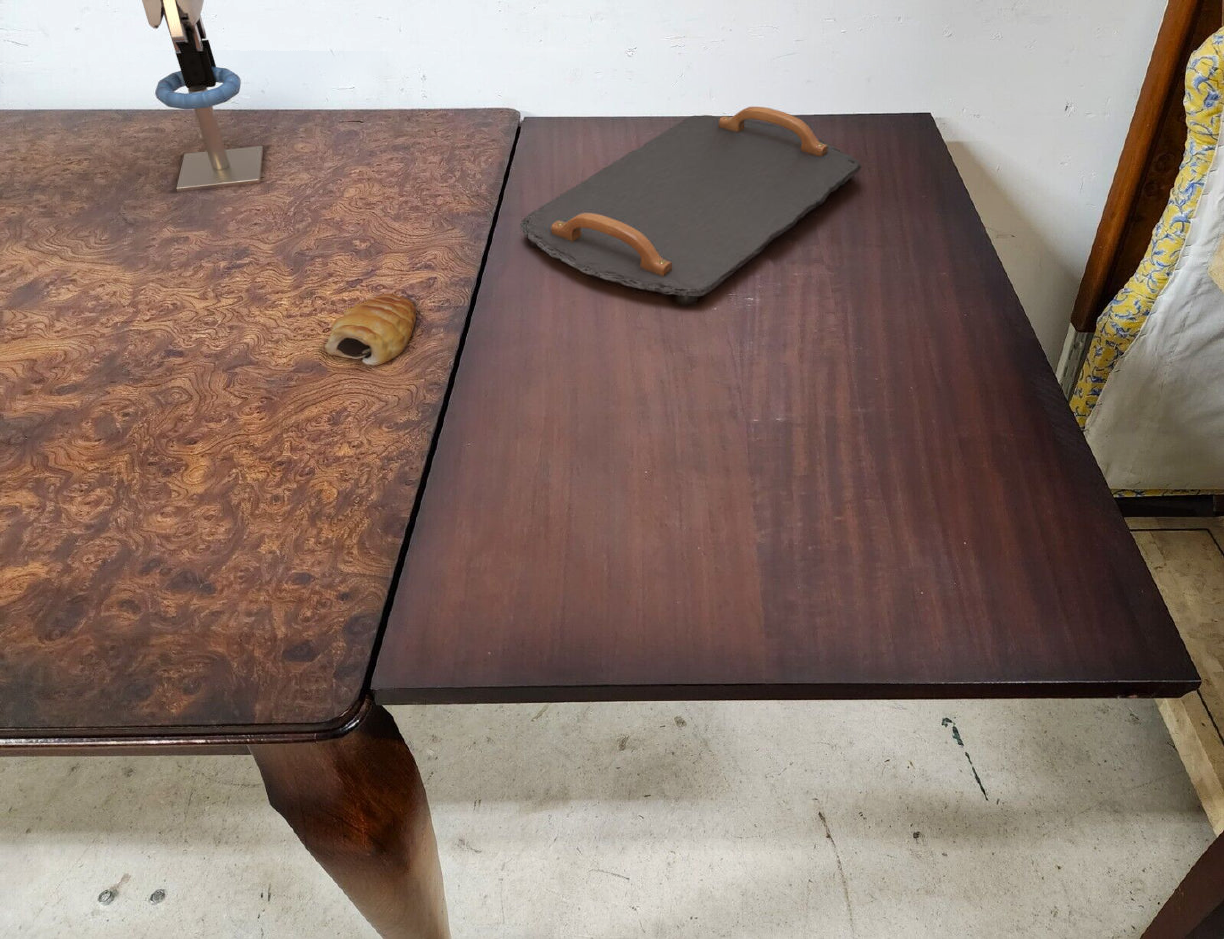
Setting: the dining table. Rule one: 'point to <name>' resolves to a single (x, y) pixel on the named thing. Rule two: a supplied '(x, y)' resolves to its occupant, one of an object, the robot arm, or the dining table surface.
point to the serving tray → (692, 202)
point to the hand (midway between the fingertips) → (202, 81)
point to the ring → (199, 98)
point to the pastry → (373, 329)
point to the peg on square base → (217, 158)
